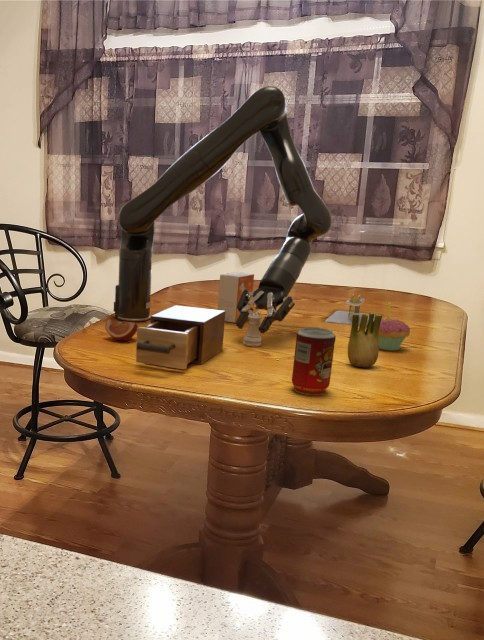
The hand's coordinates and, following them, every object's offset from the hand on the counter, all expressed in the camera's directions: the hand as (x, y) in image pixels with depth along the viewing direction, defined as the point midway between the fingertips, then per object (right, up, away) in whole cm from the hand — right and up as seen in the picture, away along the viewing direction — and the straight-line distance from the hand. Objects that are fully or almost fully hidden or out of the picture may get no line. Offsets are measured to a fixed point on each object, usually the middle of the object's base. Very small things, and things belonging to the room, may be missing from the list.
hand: (249, 329), depth 167 cm
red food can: (+3, -15, -32) cm, 35 cm away
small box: (+4, +5, +30) cm, 31 cm away
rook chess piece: (+1, -4, +2) cm, 5 cm away
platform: (+39, +6, +32) cm, 51 cm away
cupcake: (+33, -5, 0) cm, 34 cm away
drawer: (-22, -8, -15) cm, 28 cm away
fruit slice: (-31, -2, +7) cm, 32 cm away
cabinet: (-16, -6, -5) cm, 18 cm away
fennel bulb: (+21, -10, -15) cm, 27 cm away
